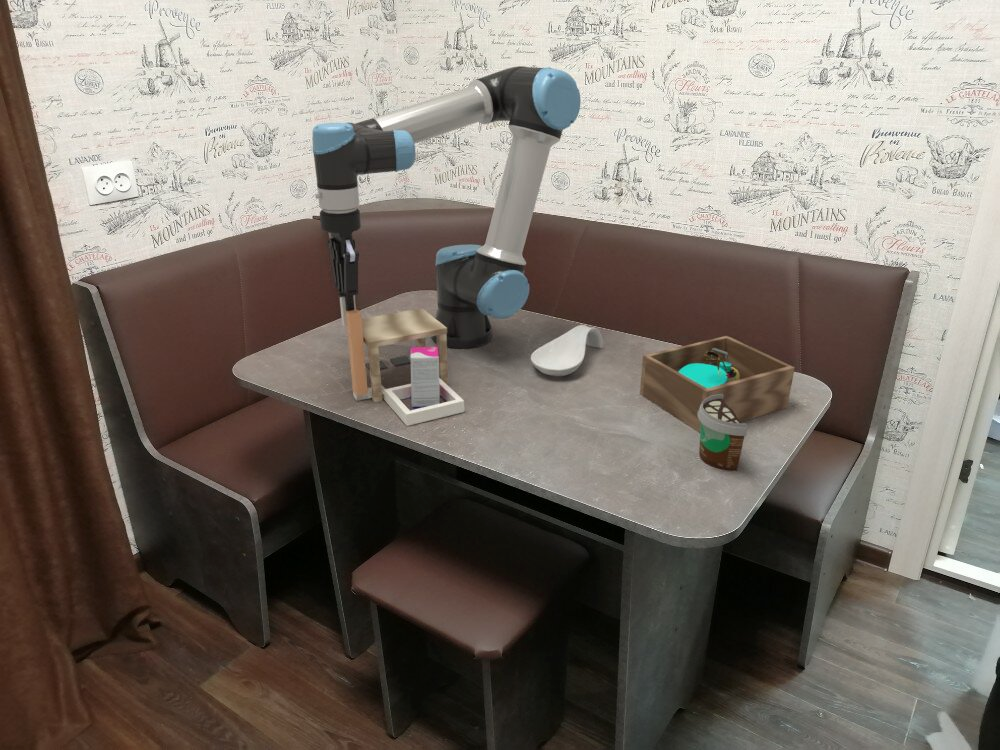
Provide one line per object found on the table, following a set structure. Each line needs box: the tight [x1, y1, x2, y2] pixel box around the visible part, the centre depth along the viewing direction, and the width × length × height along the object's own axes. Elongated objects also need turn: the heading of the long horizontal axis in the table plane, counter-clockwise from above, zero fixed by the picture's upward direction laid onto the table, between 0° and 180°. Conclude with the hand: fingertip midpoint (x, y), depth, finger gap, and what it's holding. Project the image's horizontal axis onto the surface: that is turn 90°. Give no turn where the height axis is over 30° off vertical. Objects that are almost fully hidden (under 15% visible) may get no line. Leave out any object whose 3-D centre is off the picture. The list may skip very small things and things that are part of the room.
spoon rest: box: [530, 324, 604, 377], centre depth 171 cm, size 24×12×7 cm, turn 145°
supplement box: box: [409, 346, 441, 410], centre depth 152 cm, size 6×6×12 cm
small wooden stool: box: [361, 307, 449, 403], centre depth 160 cm, size 17×14×14 cm
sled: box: [346, 309, 465, 427], centre depth 149 cm, size 18×17×19 cm
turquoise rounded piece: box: [679, 348, 740, 388], centre depth 151 cm, size 14×18×15 cm
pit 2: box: [389, 355, 411, 367], centre depth 173 cm, size 4×4×1 cm
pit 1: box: [365, 359, 389, 371], centre depth 170 cm, size 4×4×1 cm
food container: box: [697, 394, 748, 472], centre depth 132 cm, size 12×6×10 cm, turn 5°
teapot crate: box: [639, 335, 796, 434], centre depth 153 cm, size 23×19×9 cm
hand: (349, 324), depth 152 cm, fingers closed
